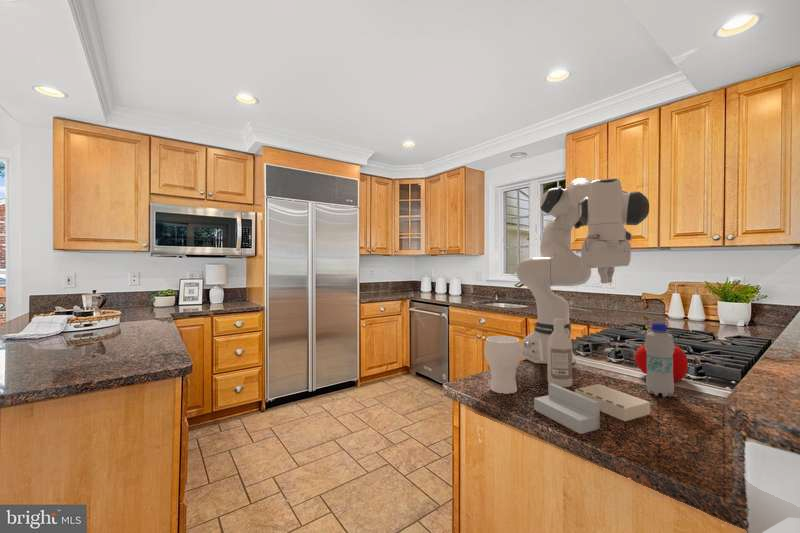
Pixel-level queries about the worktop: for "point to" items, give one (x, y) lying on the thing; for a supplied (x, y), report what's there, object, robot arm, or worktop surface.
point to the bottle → (659, 361)
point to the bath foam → (559, 356)
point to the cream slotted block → (616, 402)
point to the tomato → (678, 362)
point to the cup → (503, 362)
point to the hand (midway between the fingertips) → (606, 283)
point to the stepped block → (569, 409)
